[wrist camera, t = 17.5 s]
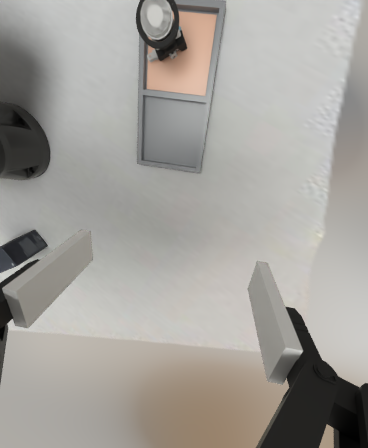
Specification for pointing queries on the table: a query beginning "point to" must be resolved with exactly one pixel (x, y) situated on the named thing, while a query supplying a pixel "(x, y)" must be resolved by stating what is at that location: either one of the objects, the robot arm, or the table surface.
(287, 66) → the table surface
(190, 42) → the sorting tray
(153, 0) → the push button
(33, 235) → the box
